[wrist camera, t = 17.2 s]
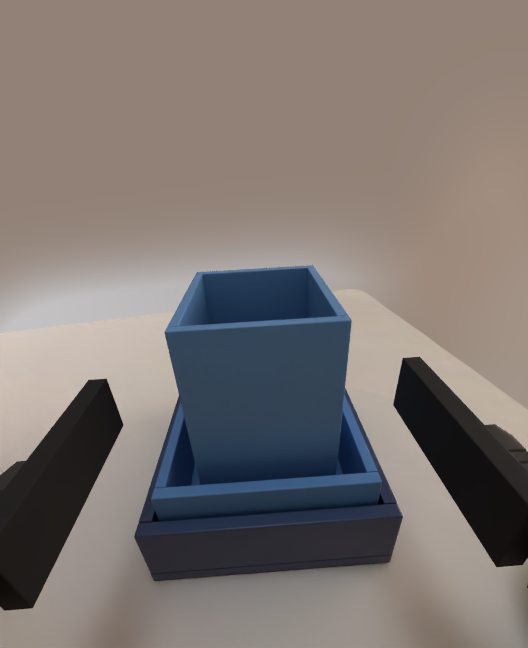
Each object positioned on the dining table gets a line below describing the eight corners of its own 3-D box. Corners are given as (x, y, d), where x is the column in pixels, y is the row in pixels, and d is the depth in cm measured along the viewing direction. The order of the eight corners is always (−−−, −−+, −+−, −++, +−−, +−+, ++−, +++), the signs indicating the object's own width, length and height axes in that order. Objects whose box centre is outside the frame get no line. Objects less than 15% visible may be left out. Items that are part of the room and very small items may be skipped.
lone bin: (333, 504, 18) (352, 320, 12) (206, 513, 18) (163, 331, 12) (308, 408, 26) (313, 265, 20) (219, 414, 26) (196, 272, 20)
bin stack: (390, 562, 17) (409, 498, 14) (153, 581, 16) (125, 519, 14) (329, 396, 29) (333, 345, 26) (194, 406, 29) (184, 355, 26)
